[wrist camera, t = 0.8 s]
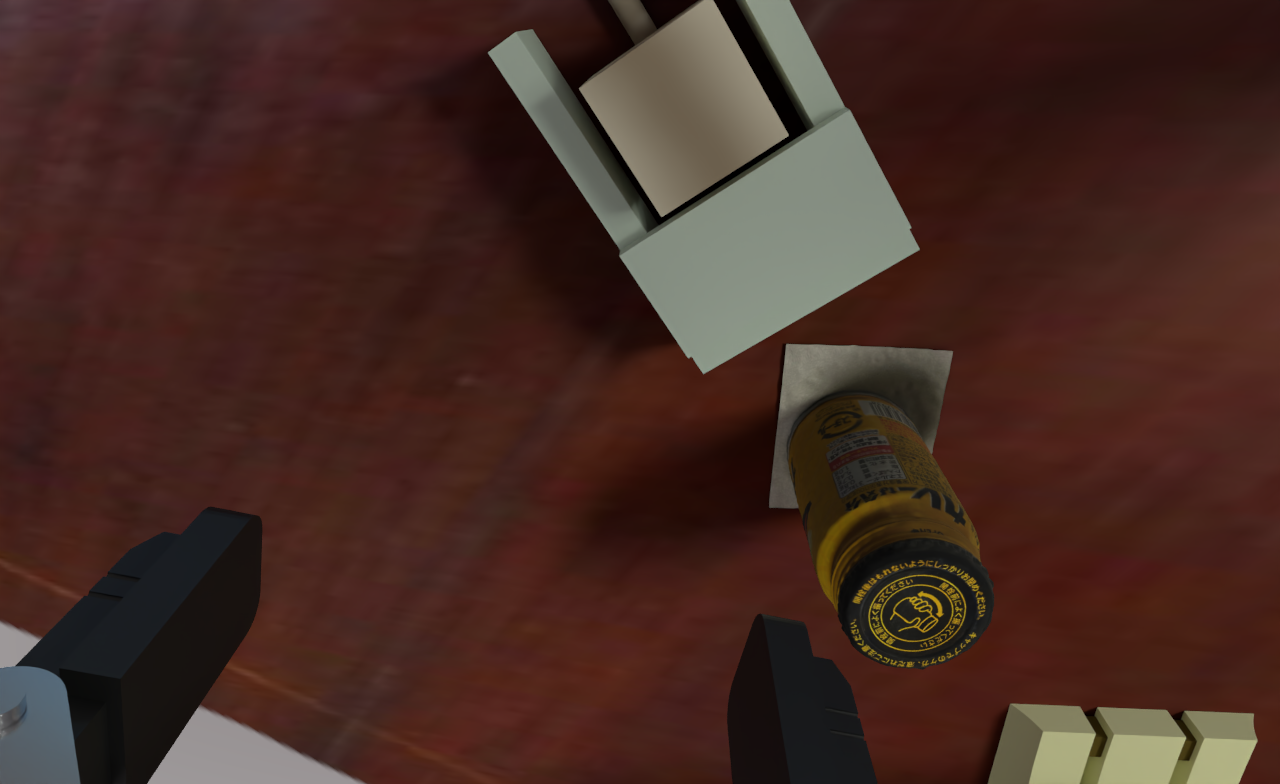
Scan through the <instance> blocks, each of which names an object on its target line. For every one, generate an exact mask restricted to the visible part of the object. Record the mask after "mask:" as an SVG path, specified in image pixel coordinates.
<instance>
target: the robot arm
mask: <svg viewBox="0 0 1280 784" xmlns="http://www.w3.org/2000/svg"><path fill="white" fill-rule="evenodd" d="M261 553H262V521H261V518H260V517H259V516H257V515H252V514H246V513H241V512H236V511H231V510H226V509H220V508H215V507H208V508H206V509H205V510H203V511H202V512H201V514H200V515H199V516H198V517H197V518H196V519H195V520H194V521H193V522H192V523H191V524H190V525H189V527H188V528H187V529H186V530H185V531H184V532H183V533H182V534H181V535H178V534H173V533H168V532H163V533H161V534H159V535H157V536H155V537H153V538H151V539H149V540H147V541H145V542H143V543H141V544H140V545H138V546H136V547H134V548H132V549H130V550H129V551H128V552H127V553H126V554H125V555H124V556H123V557H122V558H121V559H120V560H119V561H118V562H117V563H116V564H115V565H114V566H113V567H112V568H111V570H110V571H109V572H108V575H107V577H103V578H102V579H101V580H100V581H99V582H98V583H97V584H96V585H95V586H94V587H93V588H92V589H91V590H90V591H89V595H88V596H84V597H83V598H82V599H81V600H80V601H79V602H78V603H77V604H76V605H75V606H74V607H73V608H72V609H71V610H70V611H69V612H68V613H67V614H66V615H65V616H64V617H63V618H62V619H61V620H60V621H59V622H58V623H57V624H56V625H55V626H54V627H53V628H52V629H51V630H50V631H49V632H48V633H47V634H46V635H45V636H44V637H43V638H42V639H41V640H40V641H39V642H38V643H37V644H36V646H35V647H34V648H33V649H32V650H31V651H30V652H29V653H28V654H27V655H26V656H25V657H24V658H23V659H22V660H21V661H20V662H19V663H18V664H17V665H16V666H14V667H5V668H0V784H147V783H148V781H149V779H150V778H151V777H152V775H153V774H154V772H155V771H156V769H157V768H158V766H159V765H160V763H161V762H162V760H163V759H164V757H165V756H166V754H167V753H168V751H169V750H170V748H171V747H172V745H173V744H174V742H175V741H176V739H177V738H178V736H179V735H180V733H181V732H182V730H183V729H184V727H185V726H186V724H187V723H188V721H189V720H190V718H191V717H192V715H193V714H194V712H195V711H196V709H197V708H198V706H199V705H200V703H201V702H202V700H203V699H204V697H205V696H206V694H207V693H208V691H209V690H210V688H211V687H212V685H213V684H214V682H215V681H216V679H217V678H218V676H219V675H220V673H221V672H222V670H223V669H224V667H225V666H226V664H227V663H228V661H229V660H230V658H231V657H232V655H233V654H234V652H235V651H236V649H237V648H238V646H239V645H240V643H241V642H242V640H243V639H244V637H245V636H246V634H247V633H248V631H249V629H250V627H251V625H252V623H253V620H254V617H255V614H256V611H257V608H258V604H259V598H260V584H261ZM857 715H858V711H857V708H856V704H855V700H854V697H853V693H852V689H851V686H850V685H849V683H848V682H847V680H846V679H845V678H844V676H843V675H842V674H841V672H840V671H839V669H838V668H837V667H836V665H835V664H834V663H833V661H832V660H829V659H824V658H819V657H814V656H813V653H812V649H811V645H810V640H809V636H808V632H807V628H806V625H805V624H804V622H801V621H795V620H790V619H785V618H780V617H775V616H769V615H764V614H758V615H757V616H756V618H755V620H754V622H753V624H752V627H751V630H750V633H749V636H748V639H747V642H746V645H745V648H744V651H743V653H742V656H741V659H740V662H739V665H738V668H737V671H736V674H735V677H734V680H733V683H732V686H731V690H730V695H729V702H728V713H727V724H728V736H729V747H730V758H731V770H732V781H733V784H877V780H876V777H875V773H874V769H873V766H872V762H871V758H870V755H869V751H868V748H867V744H866V741H864V733H863V729H862V726H861V722H860V718H857Z"/></svg>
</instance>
